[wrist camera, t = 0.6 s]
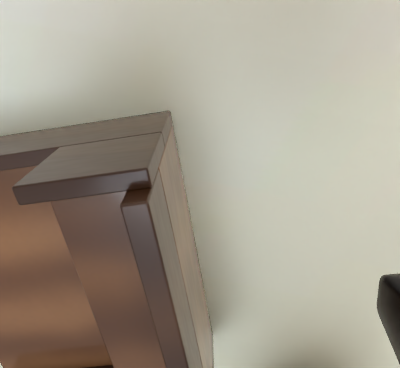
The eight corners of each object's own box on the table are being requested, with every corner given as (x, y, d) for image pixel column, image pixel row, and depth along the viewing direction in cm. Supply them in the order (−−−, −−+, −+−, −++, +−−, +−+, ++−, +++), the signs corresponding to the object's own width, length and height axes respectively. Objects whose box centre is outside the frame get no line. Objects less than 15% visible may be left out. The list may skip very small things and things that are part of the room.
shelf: (212, 335, 27) (217, 486, 18) (26, 354, 29) (-56, 506, 20) (170, 110, 20) (142, 179, 11) (-83, 148, 21) (-303, 240, 12)
